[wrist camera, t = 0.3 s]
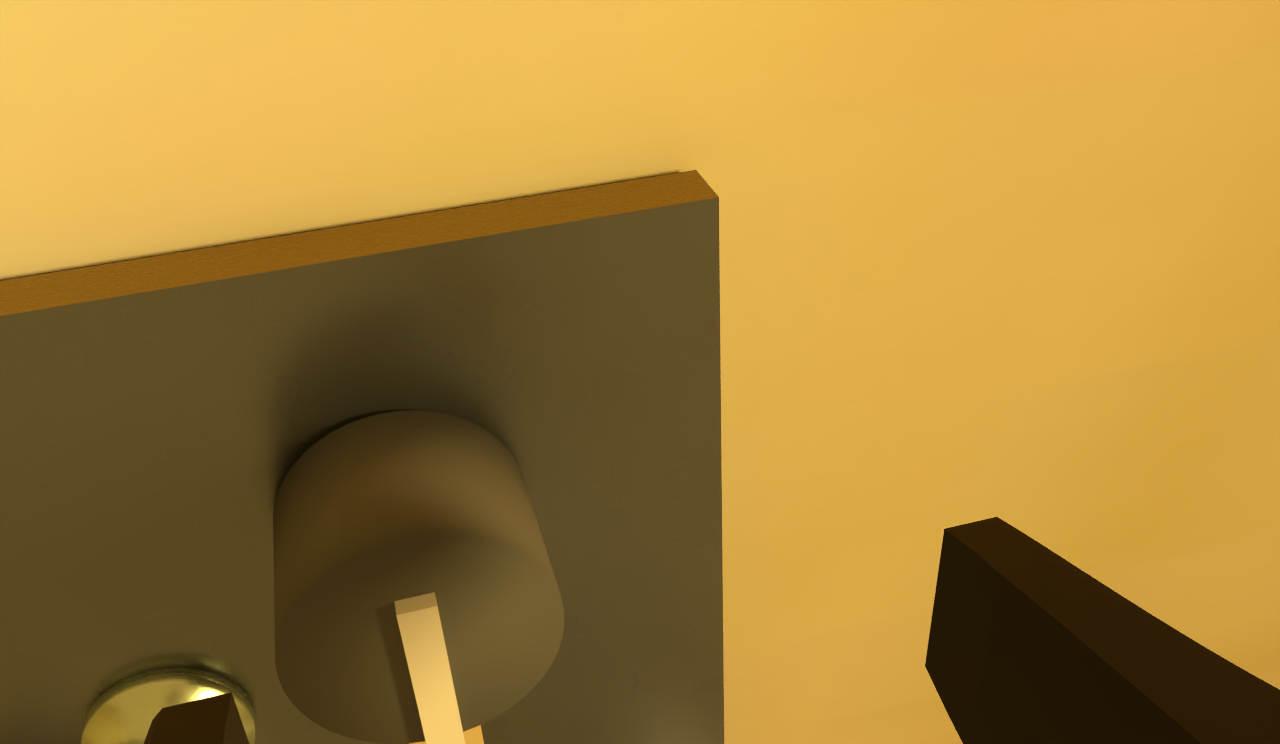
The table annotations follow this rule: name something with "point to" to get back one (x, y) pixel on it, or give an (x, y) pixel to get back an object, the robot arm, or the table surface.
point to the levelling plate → (338, 395)
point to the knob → (410, 581)
